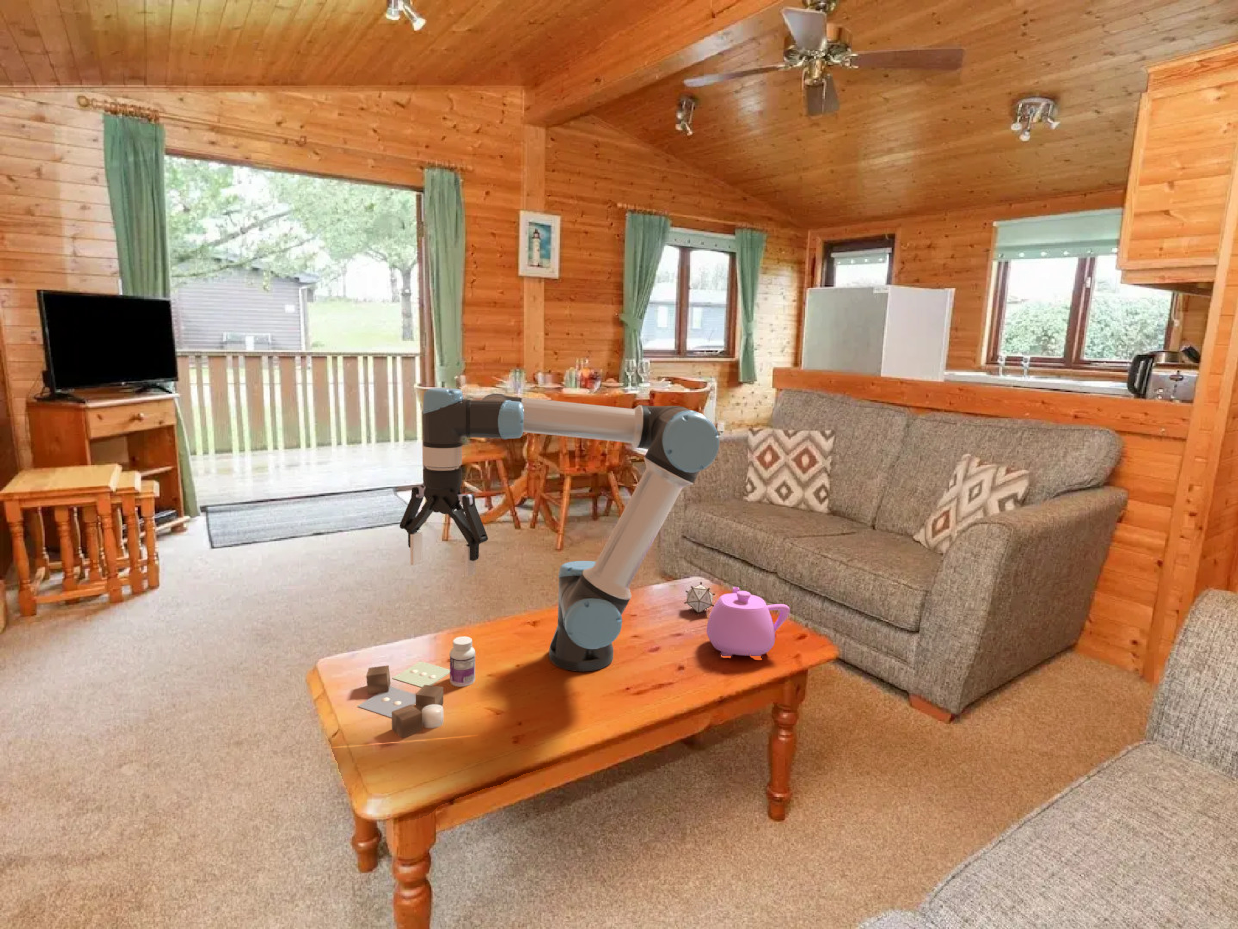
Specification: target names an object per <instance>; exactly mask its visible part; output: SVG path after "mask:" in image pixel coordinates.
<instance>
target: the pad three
mask: <svg viewBox="0 0 1238 929" xmlns="http://www.w3.org/2000/svg"><path fill="white" fill-rule="evenodd" d="M447 675H450V668H446V667H441V666H438V665H436V664H433V663H428V662H424V661H422V660H421V661H420V660H419V662H417V663H415V664H414V665H411V666H410V667H409V668H407V669H405V670H403V671H402V672H399V674H397V675H395V676H393V677H392V680H396V681H399V682H401V683H406V684H409V685H412V686H415V687H419V688H420V689H421V688H422V687H423V686H424V685H431V686H434V684H436V683H437V682H438V681H440V680H442V679H444V677H447Z"/></svg>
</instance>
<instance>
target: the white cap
mask: <svg viewBox="0 0 1238 929" xmlns="http://www.w3.org/2000/svg"><path fill="white" fill-rule="evenodd" d="M443 724H444V707H443V705H442V706H441V705H437V704H432V705H428V706H425V707H424V708H423V709H422V727H423V728H425V729H436V728H439V727H441V726H442V725H443Z"/></svg>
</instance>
